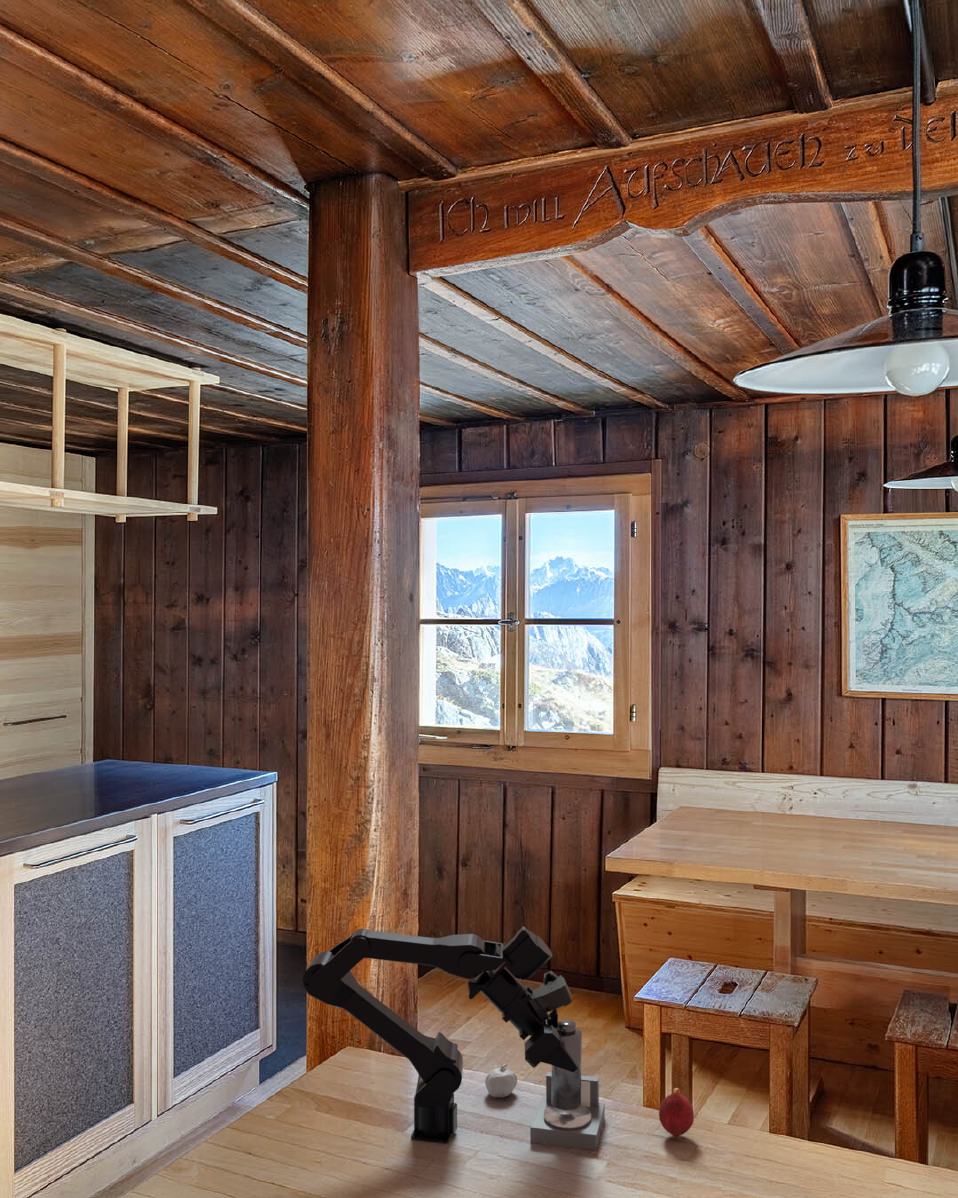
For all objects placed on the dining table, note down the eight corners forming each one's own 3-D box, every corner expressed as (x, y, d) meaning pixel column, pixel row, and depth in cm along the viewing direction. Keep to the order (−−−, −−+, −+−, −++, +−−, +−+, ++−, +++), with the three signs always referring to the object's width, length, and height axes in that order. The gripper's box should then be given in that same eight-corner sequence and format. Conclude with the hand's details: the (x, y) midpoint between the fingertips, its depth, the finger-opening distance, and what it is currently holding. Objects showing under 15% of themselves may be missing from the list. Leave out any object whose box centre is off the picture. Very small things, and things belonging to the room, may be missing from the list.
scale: (530, 1142, 176) (530, 1100, 175) (542, 1111, 186) (542, 1071, 186) (596, 1150, 173) (596, 1107, 173) (604, 1118, 184) (604, 1078, 184)
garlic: (507, 1084, 196) (507, 1056, 196) (522, 1096, 192) (522, 1068, 192) (479, 1092, 193) (479, 1064, 193) (494, 1104, 189) (494, 1075, 189)
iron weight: (553, 1110, 176) (554, 1030, 176) (549, 1096, 181) (549, 1017, 181) (583, 1109, 176) (584, 1029, 176) (578, 1095, 181) (578, 1017, 181)
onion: (693, 1147, 174) (693, 1098, 174) (658, 1144, 175) (658, 1095, 175) (693, 1129, 179) (693, 1082, 179) (659, 1126, 181) (659, 1080, 181)
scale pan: (539, 1126, 176) (539, 1123, 176) (548, 1104, 183) (548, 1100, 183) (587, 1132, 174) (587, 1128, 174) (594, 1109, 181) (594, 1105, 181)
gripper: (546, 984, 169) (614, 1054, 169) (541, 945, 188) (603, 1008, 188) (497, 1032, 169) (565, 1102, 169) (496, 989, 188) (558, 1052, 188)
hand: (574, 1063), depth 178 cm, fingers closed on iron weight, 5 cm apart
